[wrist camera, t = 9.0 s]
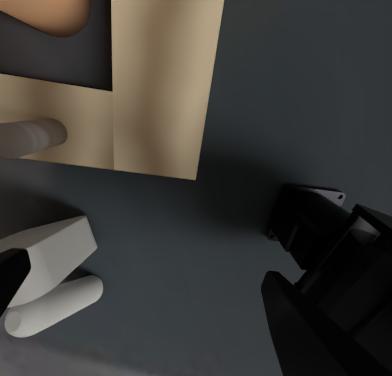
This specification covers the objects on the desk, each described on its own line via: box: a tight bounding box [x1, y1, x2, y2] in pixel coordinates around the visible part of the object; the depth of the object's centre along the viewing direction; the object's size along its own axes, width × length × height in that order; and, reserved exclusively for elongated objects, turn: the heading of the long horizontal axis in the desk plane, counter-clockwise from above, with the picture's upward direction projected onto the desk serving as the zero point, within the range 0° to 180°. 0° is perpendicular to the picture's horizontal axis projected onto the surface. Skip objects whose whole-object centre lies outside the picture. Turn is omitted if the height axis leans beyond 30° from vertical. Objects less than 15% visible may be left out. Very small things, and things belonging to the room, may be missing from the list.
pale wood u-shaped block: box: [0, 0, 224, 180], centre depth 12 cm, size 18×16×6 cm
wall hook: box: [0, 216, 103, 337], centre depth 18 cm, size 8×10×10 cm
